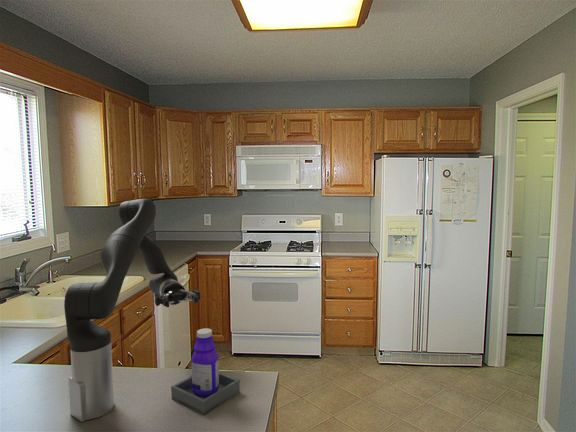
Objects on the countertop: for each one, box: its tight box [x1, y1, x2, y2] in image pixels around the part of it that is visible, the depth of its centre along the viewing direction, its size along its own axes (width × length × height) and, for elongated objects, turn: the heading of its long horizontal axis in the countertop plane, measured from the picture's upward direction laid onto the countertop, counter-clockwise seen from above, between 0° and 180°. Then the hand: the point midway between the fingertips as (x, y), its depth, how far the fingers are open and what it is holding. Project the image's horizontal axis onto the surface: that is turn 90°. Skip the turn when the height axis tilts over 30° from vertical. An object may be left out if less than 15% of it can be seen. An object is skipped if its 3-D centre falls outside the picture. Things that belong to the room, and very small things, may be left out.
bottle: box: [191, 327, 220, 397], centre depth 101 cm, size 7×6×17 cm
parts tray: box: [170, 371, 241, 416], centre depth 101 cm, size 13×13×4 cm
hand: (182, 302), depth 115 cm, fingers open, 8 cm apart
